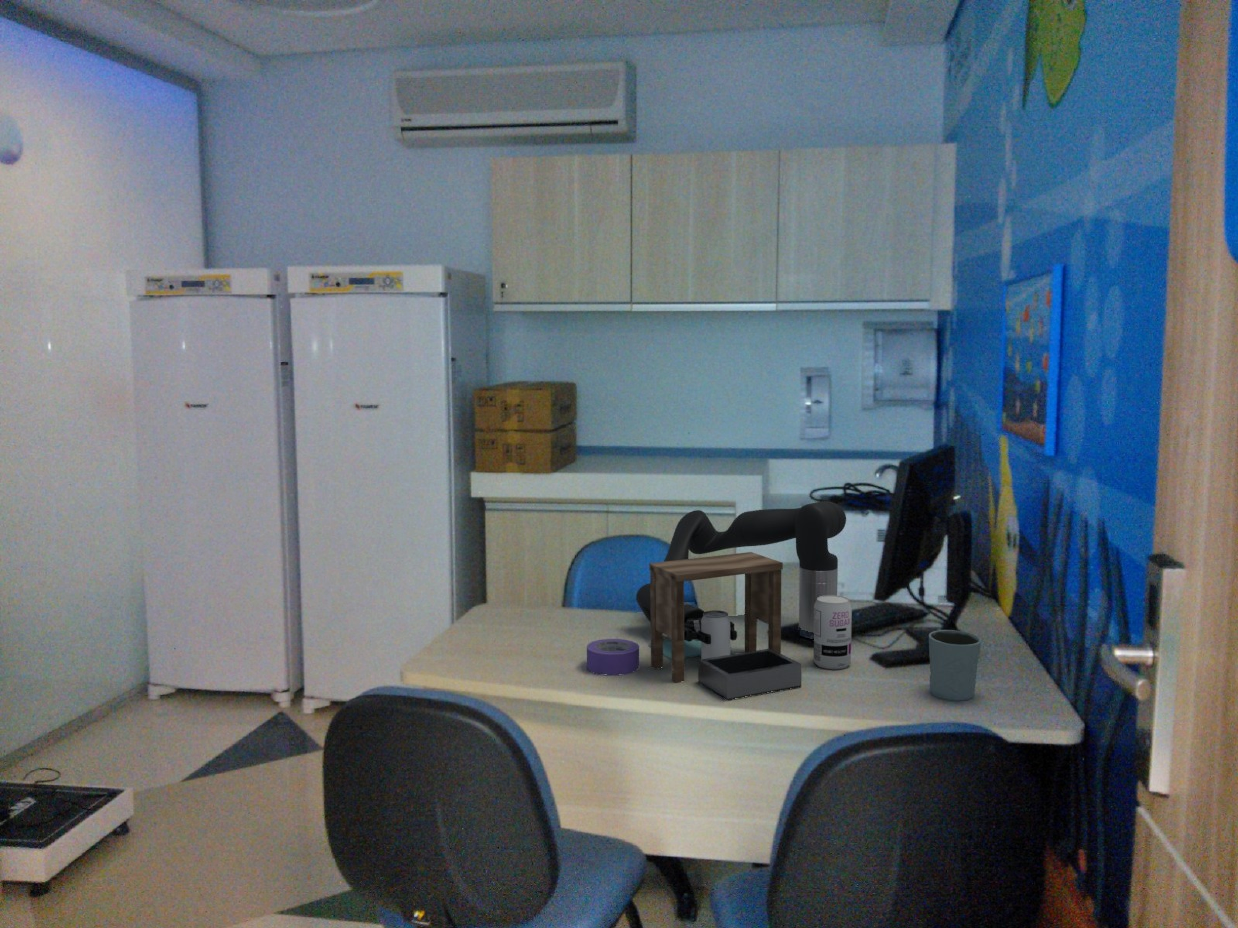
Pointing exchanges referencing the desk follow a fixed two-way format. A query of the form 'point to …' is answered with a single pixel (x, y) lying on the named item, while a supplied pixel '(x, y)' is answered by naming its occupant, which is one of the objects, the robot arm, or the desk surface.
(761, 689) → the box
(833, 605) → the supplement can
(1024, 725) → the desk surface
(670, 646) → the pad
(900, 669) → the desk surface
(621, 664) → the tape roll
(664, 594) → the small wooden table
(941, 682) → the grey green cup
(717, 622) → the can
